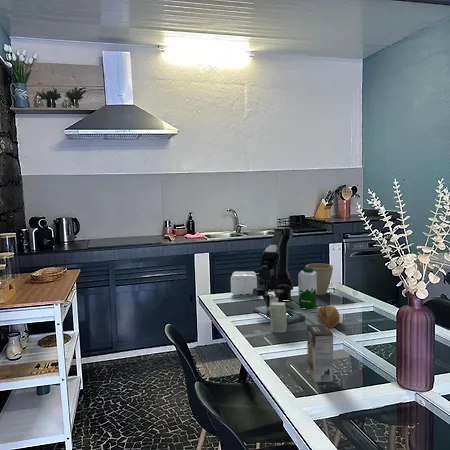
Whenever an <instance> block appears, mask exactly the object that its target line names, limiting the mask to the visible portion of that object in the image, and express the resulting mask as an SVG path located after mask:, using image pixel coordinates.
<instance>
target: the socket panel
mask: <svg viewBox="0 0 450 450" xmlns="http://www.w3.org/2000/svg"><path fill="white" fill-rule="evenodd" d="M253 311H254V312H255V313H257V312H258V313H257V314H259V313H261V314H264V315H266V316H267V317H269V318H270V319H271V315H270V311H268V310H267V309H266V305H263V306H257V307H253ZM286 313H288V314H289V315H290V316H291V317H289V316H286V319H287V324H292V323H296V322H297V323H298V322H302V321H306V316H305V315H302V314H301V313H298V312H296V311H294V310H292V309H290V308H288V307H286ZM261 314H260V315H261ZM270 319H269V320H270Z"/></svg>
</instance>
